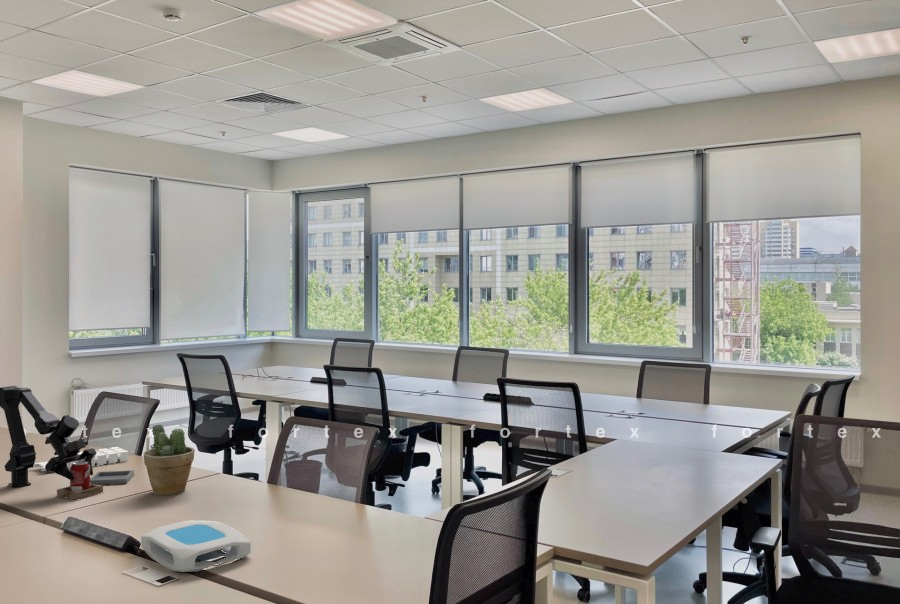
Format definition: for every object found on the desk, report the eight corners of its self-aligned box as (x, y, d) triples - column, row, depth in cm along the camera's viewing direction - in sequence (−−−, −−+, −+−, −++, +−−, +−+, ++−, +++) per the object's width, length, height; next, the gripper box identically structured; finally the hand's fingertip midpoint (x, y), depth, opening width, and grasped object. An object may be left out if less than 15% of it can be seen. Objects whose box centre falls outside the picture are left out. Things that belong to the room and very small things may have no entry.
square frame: (56, 496, 272) (56, 489, 272) (82, 489, 283) (82, 482, 283) (78, 499, 268) (78, 493, 268) (103, 492, 278) (103, 485, 278)
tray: (88, 485, 288) (88, 480, 287) (97, 476, 301) (97, 471, 301) (126, 483, 290) (126, 478, 290) (134, 475, 304) (134, 470, 304)
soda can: (81, 497, 271) (81, 465, 271) (65, 496, 273) (65, 464, 273) (94, 492, 278) (94, 461, 278) (78, 491, 279) (78, 460, 279)
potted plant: (203, 485, 288) (203, 422, 288) (181, 499, 270) (181, 431, 269) (158, 484, 290) (158, 421, 289) (133, 497, 271) (133, 430, 271)
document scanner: (207, 535, 231) (207, 515, 231) (252, 558, 211) (252, 536, 211) (140, 551, 217) (140, 530, 217) (181, 578, 197) (181, 555, 197)
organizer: (128, 451, 329) (42, 464, 304) (128, 461, 329) (42, 475, 304) (116, 446, 338) (33, 459, 313) (117, 457, 338) (33, 470, 313)
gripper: (50, 436, 268) (72, 469, 264) (93, 427, 285) (114, 458, 281) (35, 455, 271) (56, 488, 267) (78, 445, 288) (99, 476, 284)
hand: (82, 477), depth 275 cm, fingers open, 8 cm apart
